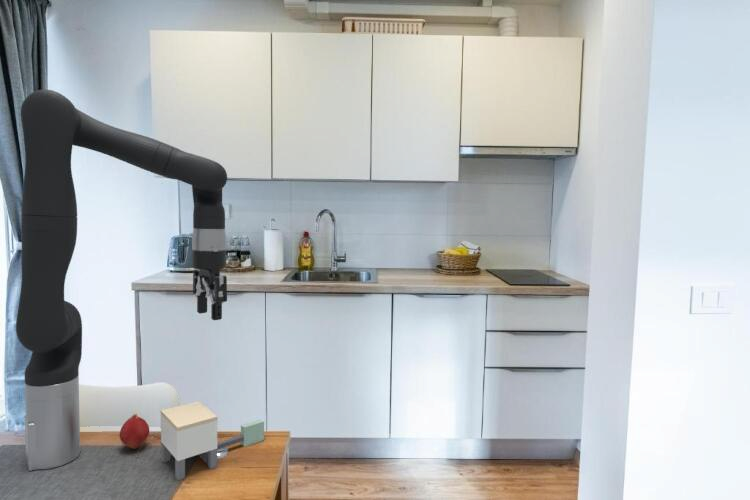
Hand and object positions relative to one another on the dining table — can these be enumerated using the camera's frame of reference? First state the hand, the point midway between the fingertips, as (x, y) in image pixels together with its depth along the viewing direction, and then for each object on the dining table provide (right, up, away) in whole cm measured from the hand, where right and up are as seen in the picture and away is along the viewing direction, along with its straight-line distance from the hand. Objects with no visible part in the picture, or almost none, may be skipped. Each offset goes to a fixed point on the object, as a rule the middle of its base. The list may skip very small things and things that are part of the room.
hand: (209, 316), depth 110 cm
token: (+5, -29, -8) cm, 31 cm away
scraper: (+8, -29, -6) cm, 30 cm away
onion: (-14, -29, -7) cm, 33 cm away
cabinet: (0, -29, -12) cm, 32 cm away
